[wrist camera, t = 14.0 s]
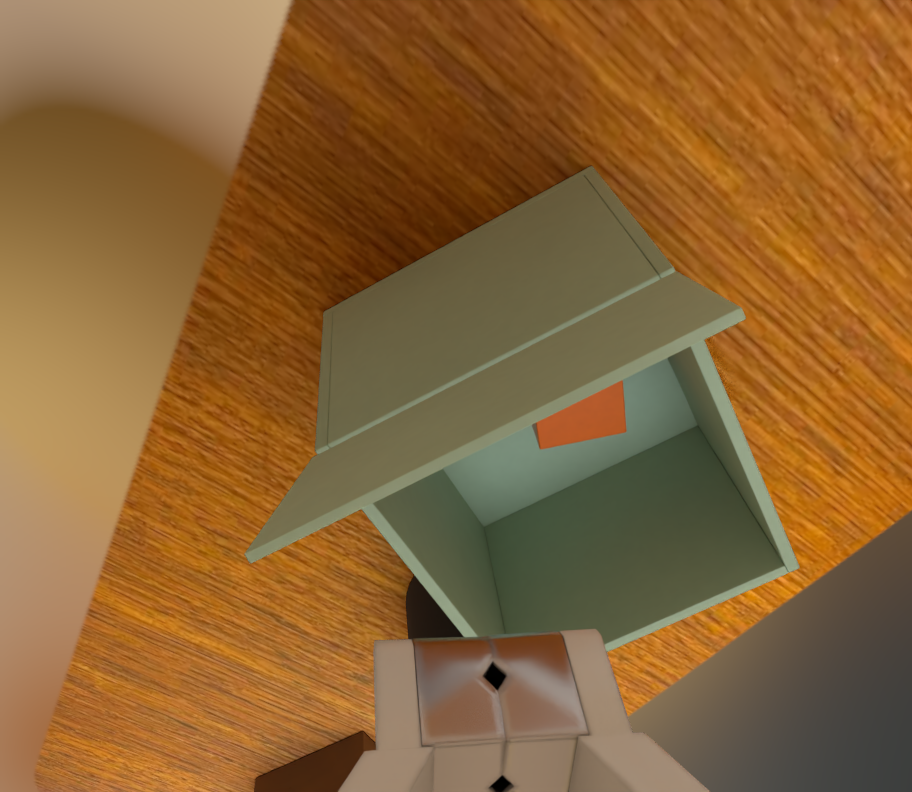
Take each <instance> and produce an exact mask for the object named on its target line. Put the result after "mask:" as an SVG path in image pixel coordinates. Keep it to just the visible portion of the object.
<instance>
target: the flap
mask: <svg viewBox="0 0 912 792" xmlns="http://www.w3.org/2000/svg"><path fill="white" fill-rule="evenodd" d="M745 319H746V317H745V314H744V312H743V310H742V308H741V307H739V306H737V305H736V304H734V303H732V302H730V301H729V300H727V299H725V298H723V297H721V296H720V295H718V294H716V293H714V292H713V291H711V290H709V289H707V288H705V287H704V286H702V285H700V284H698V283H697V282H695V281H693V280H691V279H689V278H688V277H686V276H684V275H682V274H681V273H679V272H677V271H675V272H673V273H672V274H670V275H668V276H666V277H664V278H662V279H660V280H658V281H656V282H654V283H652V284H650V285H648V286H646V287H644V288H642V289H640V290H638V291H636V292H634V293H632V294H630V295H629V296H627V297H625V298H623V299H621V300H619V301H617V302H615V303H613V304H611V305H609V306H607V307H605V308H603V309H601V310H599V311H597V312H595V313H593V314H591V315H589V316H588V317H586V318H584V319H582V320H580V321H578V322H576V323H574V324H572V325H570V326H568V327H566V328H564V329H562V330H560V331H558V332H556V333H554V334H552V335H550V336H548V337H547V338H545V339H543V340H541V341H539V342H537V343H535V344H533V345H531V346H529V347H527V348H525V349H523V350H521V351H519V352H517V353H515V354H513V355H511V356H509V357H507V358H505V359H504V360H502V361H500V362H498V363H496V364H494V365H492V366H490V367H488V368H486V369H484V370H482V371H480V372H478V373H476V374H474V375H472V376H470V377H468V378H466V379H464V380H463V381H461V382H459V383H457V384H455V385H453V386H451V387H449V388H447V389H445V390H443V391H441V392H439V393H437V394H435V395H433V396H431V397H429V398H427V399H425V400H423V401H422V402H420V403H418V404H416V405H414V406H412V407H410V408H408V409H406V410H404V411H402V412H400V413H398V414H396V415H394V416H392V417H390V418H388V419H386V420H384V421H382V422H380V423H379V424H377V425H375V426H373V427H371V428H369V429H367V430H365V431H363V432H361V433H359V434H357V435H355V436H353V437H351V438H349V439H347V440H345V441H343V442H341V443H339V444H338V445H336V446H334V447H332V448H330V449H328V450H326V451H324V452H322V453H320V454H318V455H316V456H314V457H312V459H311V460H310V462H309V463H308V465H307V466H306V467H305V469H304V470H303V472H302V473H301V474H300V476H299V477H298V479H297V480H296V482H295V483H294V484H293V486H292V487H291V489H290V490H289V491H288V493H287V494H286V496H285V497H284V499H283V500H282V501H281V503H280V504H279V506H278V507H277V508H276V510H275V511H274V513H273V514H272V516H271V517H270V518H269V520H268V521H267V523H266V524H265V525H264V527H263V528H262V530H261V531H260V533H259V534H258V535H257V537H256V538H255V540H254V541H253V542H252V544H251V545H250V547H249V548H248V550H247V551H246V552H245V556H246V558H247V560H248V561H249V563H253V562H255V561H257V560H259V559H261V558H263V557H265V556H267V555H269V554H271V553H273V552H275V551H277V550H279V549H281V548H283V547H285V546H287V545H289V544H291V543H293V542H295V541H297V540H299V539H302V538H304V537H306V536H308V535H310V534H312V533H314V532H316V531H318V530H320V529H322V528H324V527H326V526H328V525H330V524H332V523H334V522H336V521H338V520H340V519H342V518H344V517H346V516H348V515H350V514H352V513H354V512H356V511H358V510H360V509H362V508H364V507H366V506H368V505H370V504H372V503H374V502H376V501H378V500H380V499H383V498H385V497H387V496H389V495H391V494H393V493H395V492H397V491H399V490H401V489H403V488H405V487H407V486H409V485H411V484H413V483H415V482H417V481H419V480H421V479H423V478H425V477H427V476H429V475H431V474H433V473H435V472H437V471H439V470H441V469H443V468H445V467H447V466H449V465H451V464H453V463H455V462H457V461H459V460H461V459H464V458H466V457H468V456H470V455H472V454H474V453H476V452H478V451H480V450H482V449H484V448H486V447H488V446H490V445H492V444H494V443H496V442H498V441H500V440H502V439H504V438H506V437H508V436H510V435H512V434H514V433H516V432H518V431H520V430H522V429H524V428H526V427H528V426H530V425H532V424H534V423H536V422H538V421H540V420H542V419H545V418H547V417H549V416H551V415H553V414H555V413H557V412H559V411H561V410H563V409H565V408H567V407H569V406H571V405H573V404H575V403H577V402H579V401H581V400H583V399H585V398H587V397H589V396H591V395H593V394H595V393H597V392H599V391H601V390H603V389H605V388H607V387H609V386H611V385H613V384H615V383H617V382H619V381H621V380H623V379H625V378H628V377H630V376H632V375H634V374H636V373H638V372H640V371H642V370H644V369H646V368H648V367H650V366H652V365H654V364H656V363H658V362H660V361H662V360H664V359H666V358H668V357H670V356H672V355H674V354H676V353H678V352H680V351H682V350H684V349H686V348H688V347H690V346H692V345H694V344H696V343H698V342H700V341H702V340H704V339H706V338H709V337H711V336H713V335H715V334H717V333H719V332H721V331H723V330H725V329H727V328H729V327H731V326H733V325H735V324H737V323H739V322H741V321H743V320H745Z"/></svg>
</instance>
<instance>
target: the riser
mask: <svg viewBox="0 0 912 792" xmlns="http://www.w3.org/2000/svg"><path fill="white" fill-rule="evenodd" d="M370 750H376V744H375V743H374V742H373V741H372V740H371V739H370V738H369V737H368V736H367V735H366V734H365V733H364V732H360V733H358V734H356V735H353V736H351V737H349V738H346V739H344V740H342V741H340V742H337V743H335V744H333V745H331V746H328V747H326V748H324V749H322V750H319V751H317V752H315V753H312V754H310V755H308V756H306V757H303V758H301V759H299V760H297V761H294V762H292V763H290V764H287V765H285V766H283V767H281V768H278V769H276V770H274V771H272V772H269V773H267V774H265V775H263V776H260V777H258V778H256V779H255V788H254V792H338V791H339V789H340V788H341V786H342V785H343V783H344V782H345V780H346V778H347V777H348V775H349V774H350V772H351V771H352V769H353V768H354V766H355V765H356V763H357V762H358V760H359V759H360V757H361V756H362V754H363V753H364V751H370Z"/></svg>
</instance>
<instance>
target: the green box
mask: <svg viewBox="0 0 912 792" xmlns="http://www.w3.org/2000/svg"><path fill="white" fill-rule="evenodd" d="M673 272H675V269H674V267H673V266H672V265H671V263H670V262H669V261H668V260H667V258H666V257H665V256H664V255H663V253H662V252H661V251H660V250H659V248H658V247H657V246H656V245H655V243H654V242H653V241H652V240H651V238H650V237H649V236H648V235H647V233H646V232H645V231H644V230H643V228H642V227H641V226H640V225H639V223H638V222H637V221H636V220H635V218H634V217H633V216H632V215H631V214H630V212H629V211H628V210H627V209H626V207H625V206H624V205H623V204H622V202H621V201H620V200H619V199H618V197H617V196H616V195H615V194H614V192H613V191H612V190H611V189H610V187H609V186H608V185H607V184H606V182H605V181H604V180H603V179H602V177H601V176H600V175H599V174H598V172H597V171H596V170H595V169H594V167H593V166H590V167H588V168H586V169H584V170H583V171H581V172H579V173H577V174H575V175H573V176H572V177H570V178H568V179H566V180H564V181H562V182H561V183H559V184H557V185H555V186H553V187H551V188H550V189H548V190H546V191H544V192H542V193H540V194H539V195H537V196H535V197H533V198H531V199H529V200H528V201H526V202H524V203H522V204H520V205H518V206H517V207H515V208H513V209H511V210H509V211H507V212H506V213H504V214H502V215H500V216H498V217H496V218H495V219H493V220H491V221H489V222H487V223H485V224H484V225H482V226H480V227H478V228H476V229H474V230H473V231H471V232H469V233H467V234H465V235H463V236H462V237H460V238H458V239H456V240H454V241H452V242H451V243H449V244H447V245H445V246H443V247H441V248H440V249H438V250H436V251H434V252H432V253H430V254H429V255H427V256H425V257H423V258H421V259H419V260H418V261H416V262H414V263H412V264H410V265H408V266H407V267H405V268H403V269H401V270H399V271H397V272H396V273H394V274H392V275H390V276H388V277H386V278H385V279H383V280H381V281H379V282H377V283H375V284H374V285H372V286H370V287H368V288H366V289H364V290H363V291H361V292H359V293H357V294H355V295H353V296H352V297H350V298H348V299H346V300H344V301H342V302H341V303H339V304H337V305H335V306H333V307H331V308H330V309H328V310H326V311H324V314H323V330H322V347H321V363H320V379H319V395H318V411H317V427H316V443H315V452H316V453H317V454H320V453H322V452H324V451H326V450H328V449H330V448H332V447H334V446H336V445H338V444H339V443H341V442H343V441H345V440H347V439H349V438H351V437H353V436H355V435H357V434H359V433H361V432H363V431H365V430H367V429H369V428H371V427H373V426H375V425H377V424H379V423H380V422H382V421H384V420H386V419H388V418H390V417H392V416H394V415H396V414H398V413H400V412H402V411H404V410H406V409H408V408H410V407H412V406H414V405H416V404H418V403H420V402H422V401H423V400H425V399H427V398H429V397H431V396H433V395H435V394H437V393H439V392H441V391H443V390H445V389H447V388H449V387H451V386H453V385H455V384H457V383H459V382H461V381H463V380H464V379H466V378H468V377H470V376H472V375H474V374H476V373H478V372H480V371H482V370H484V369H486V368H488V367H490V366H492V365H494V364H496V363H498V362H500V361H502V360H504V359H505V358H507V357H509V356H511V355H513V354H515V353H517V352H519V351H521V350H523V349H525V348H527V347H529V346H531V345H533V344H535V343H537V342H539V341H541V340H543V339H545V338H547V337H548V336H550V335H552V334H554V333H556V332H558V331H560V330H562V329H564V328H566V327H568V326H570V325H572V324H574V323H576V322H578V321H580V320H582V319H584V318H586V317H588V316H589V315H591V314H593V313H595V312H597V311H599V310H601V309H603V308H605V307H607V306H609V305H611V304H613V303H615V302H617V301H619V300H621V299H623V298H625V297H627V296H629V295H630V294H632V293H634V292H636V291H638V290H640V289H642V288H644V287H646V286H648V285H650V284H652V283H654V282H656V281H658V280H660V279H662V278H664V277H666V276H668V275H670V274H672V273H673ZM623 389H624V402H625V416H626V429H627V431H626V432H625V433H621V434H616V435H611V436H606V437H601V438H596V439H591V440H586V441H581V442H576V443H571V444H566V445H561V446H557V447H552V448H547V449H542V450H541V449H540V448H539V446H538V443H537V440H536V436H535V433H534V430H533V427H532V425H530V426H528V427H526V428H524V429H522V430H520V431H518V432H516V433H514V434H512V435H510V436H508V437H506V438H504V439H502V440H500V441H498V442H496V443H494V444H492V445H490V446H488V447H486V448H484V449H482V450H480V451H478V452H476V453H474V454H472V455H470V456H468V457H466V458H464V459H461V460H459V461H457V462H455V463H453V464H451V465H449V466H447V467H445V468H443V469H441V470H439V471H437V472H435V473H433V474H431V475H429V476H427V477H425V478H423V479H421V480H419V481H417V482H415V483H413V484H411V485H409V486H407V487H405V488H403V489H401V490H399V491H397V492H395V493H393V494H391V495H389V496H387V497H385V498H383V499H380V500H378V501H376V502H374V503H372V504H370V505H368V506H366V507H364V508H362V510H363V512H364V513H365V514H366V515H367V517H368V518H369V519H370V520H371V522H372V523H373V524H374V525H375V527H376V528H377V529H378V530H379V531H380V533H381V534H382V535H383V536H384V538H385V539H386V540H387V541H388V543H389V544H390V545H391V546H392V548H393V549H394V550H395V551H396V553H397V554H398V555H399V556H400V558H401V559H402V560H403V561H404V563H405V564H406V565H407V566H408V568H409V569H410V570H411V571H412V573H413V574H414V575H415V576H416V578H417V579H418V580H419V581H420V583H421V584H422V585H423V586H424V588H425V589H426V590H427V591H428V593H429V594H430V595H431V596H432V598H433V599H434V600H435V601H436V602H437V604H438V605H439V606H440V607H441V609H442V610H443V611H444V612H445V614H446V615H447V616H448V617H449V619H450V620H451V621H452V622H453V624H454V625H455V626H456V627H457V629H458V630H459V631H460V632H461V634H462V635H463V636H464V637H485V636H486V635H499V634H514V633H529V632H544V631H558V632H559V631H567V630H584V629H596V630H597V631H598V632H599V633H600V634H601V636H602V639H603V642H604V645H605V649H606V652H608V651H610V650H613V649H615V648H617V647H620V646H622V645H624V644H627V643H629V642H631V641H633V640H636V639H638V638H640V637H643V636H645V635H647V634H650V633H652V632H654V631H656V630H659V629H661V628H663V627H666V626H668V625H670V624H673V623H675V622H677V621H679V620H682V619H684V618H686V617H689V616H691V615H693V614H696V613H698V612H700V611H702V610H705V609H707V608H709V607H712V606H714V605H716V604H719V603H721V602H723V601H725V600H728V599H730V598H732V597H735V596H737V595H739V594H742V593H744V592H746V591H748V590H751V589H753V588H755V587H758V586H760V585H762V584H765V583H767V582H769V581H771V580H774V579H776V578H778V577H781V576H783V575H785V574H787V573H788V572H792V571H794V570H797V569H799V564H798V562H797V560H796V557H795V555H794V552H793V550H792V548H791V545H790V543H789V540H788V538H787V536H786V533H785V531H784V529H783V526H782V524H781V521H780V519H779V517H778V514H777V512H776V510H775V507H774V505H773V502H772V500H771V498H770V495H769V493H768V490H767V488H766V486H765V483H764V481H763V479H762V476H761V474H760V471H759V469H758V467H757V464H756V462H755V459H754V457H753V455H752V452H751V450H750V448H749V445H748V443H747V440H746V438H745V436H744V433H743V431H742V429H741V426H740V424H739V421H738V419H737V417H736V414H735V412H734V409H733V407H732V405H731V402H730V400H729V398H728V395H727V393H726V390H725V388H724V386H723V383H722V381H721V379H720V376H719V374H718V371H717V369H716V367H715V364H714V362H713V359H712V357H711V355H710V352H709V350H708V348H707V345H706V343H705V340H702V341H700V342H698V343H696V344H694V345H692V346H690V347H688V348H686V349H684V350H682V351H680V352H678V353H676V354H674V355H672V356H670V357H668V358H666V359H664V360H662V361H660V362H658V363H656V364H654V365H652V366H650V367H648V368H646V369H644V370H642V371H640V372H638V373H636V374H634V375H632V376H630V377H628V378H625V379H623Z"/></svg>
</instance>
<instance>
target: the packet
mask: <svg viewBox="0 0 912 792" xmlns="http://www.w3.org/2000/svg"><path fill="white" fill-rule="evenodd" d="M532 427H533V430H534V433H535V436H536V440H537V443H538V446H539V448H540V449H541V450H542V449H547V448H552V447H557V446H561V445H566V444H571V443H576V442H581V441H586V440H591V439H596V438H601V437H606V436H611V435H616V434H621V433H625V432H626V431H627V429H626V416H625V402H624V389H623V380H621V381H619V382H617V383H615V384H613V385H611V386H609V387H607V388H605V389H603V390H601V391H599V392H597V393H595V394H593V395H591V396H589V397H587V398H585V399H583V400H581V401H579V402H577V403H575V404H573V405H571V406H569V407H567V408H565V409H563V410H561V411H559V412H557V413H555V414H553V415H551V416H549V417H547V418H545V419H542V420H540V421H538V422H536V423H534V424H532Z"/></svg>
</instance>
